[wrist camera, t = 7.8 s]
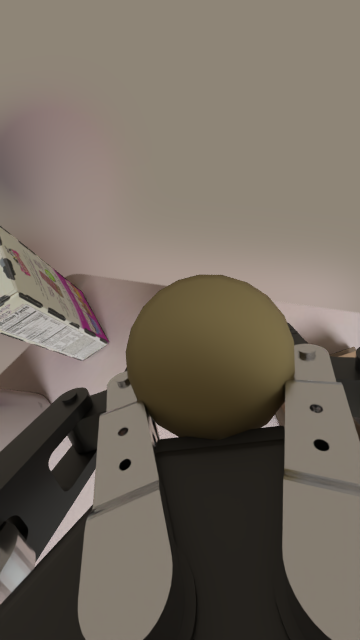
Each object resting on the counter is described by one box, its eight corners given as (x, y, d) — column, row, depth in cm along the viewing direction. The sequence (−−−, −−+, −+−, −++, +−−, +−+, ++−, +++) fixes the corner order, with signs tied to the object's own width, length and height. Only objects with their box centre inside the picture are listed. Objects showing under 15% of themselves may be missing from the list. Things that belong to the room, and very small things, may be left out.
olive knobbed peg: (214, 457, 15) (175, 545, 5) (160, 379, 17) (59, 325, 7) (287, 395, 15) (397, 351, 5) (224, 327, 18) (215, 210, 8)
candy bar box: (56, 308, 38) (-56, 239, 23) (82, 290, 38) (-12, 211, 23) (81, 364, 34) (-37, 324, 19) (111, 344, 34) (18, 288, 19)
